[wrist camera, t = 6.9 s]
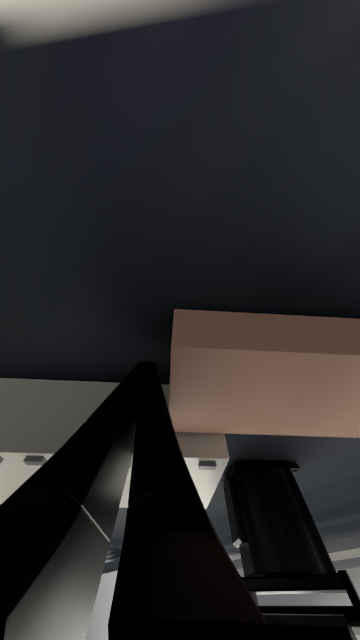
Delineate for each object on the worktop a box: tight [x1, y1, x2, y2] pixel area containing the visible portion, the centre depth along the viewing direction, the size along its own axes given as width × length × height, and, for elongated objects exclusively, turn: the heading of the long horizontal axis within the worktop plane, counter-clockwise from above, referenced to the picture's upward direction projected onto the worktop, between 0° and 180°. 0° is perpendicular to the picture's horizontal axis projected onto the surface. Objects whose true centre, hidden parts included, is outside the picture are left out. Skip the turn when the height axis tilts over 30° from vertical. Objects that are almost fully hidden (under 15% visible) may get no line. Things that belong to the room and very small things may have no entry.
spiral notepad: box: [0, 378, 230, 509], centre depth 11 cm, size 14×8×4 cm, turn 87°
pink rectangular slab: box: [169, 309, 360, 438], centre depth 8 cm, size 11×5×3 cm, turn 87°
